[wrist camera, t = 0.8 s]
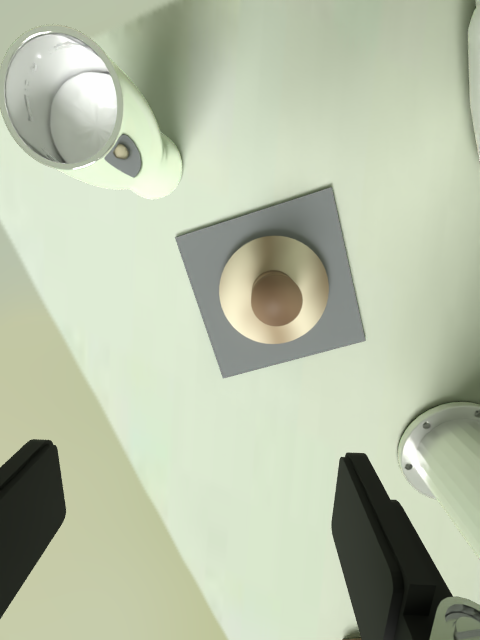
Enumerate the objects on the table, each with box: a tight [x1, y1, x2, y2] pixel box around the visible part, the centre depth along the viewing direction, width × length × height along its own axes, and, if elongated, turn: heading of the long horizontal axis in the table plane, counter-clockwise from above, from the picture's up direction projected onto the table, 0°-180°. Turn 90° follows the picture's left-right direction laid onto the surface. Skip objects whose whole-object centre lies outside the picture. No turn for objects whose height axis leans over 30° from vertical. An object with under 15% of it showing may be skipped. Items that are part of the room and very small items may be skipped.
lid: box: [219, 236, 329, 344], centre depth 30 cm, size 11×11×6 cm
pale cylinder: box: [0, 25, 182, 199], centre depth 23 cm, size 7×7×15 cm
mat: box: [175, 187, 365, 378], centre depth 33 cm, size 16×16×1 cm
